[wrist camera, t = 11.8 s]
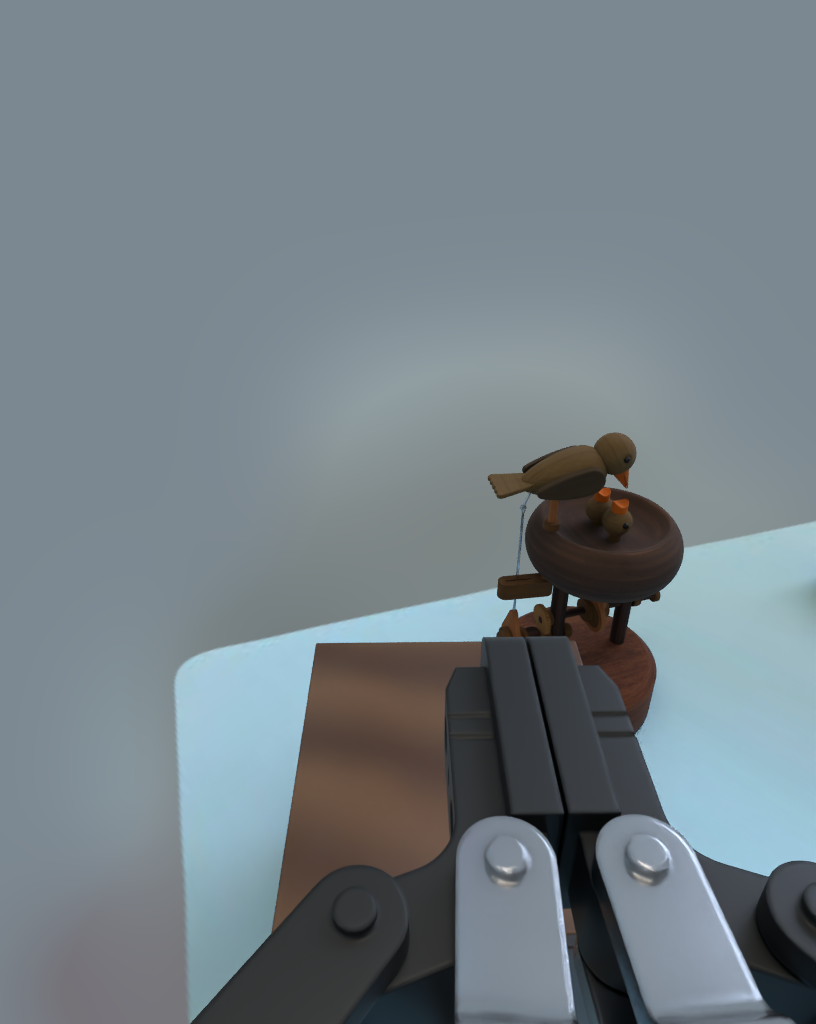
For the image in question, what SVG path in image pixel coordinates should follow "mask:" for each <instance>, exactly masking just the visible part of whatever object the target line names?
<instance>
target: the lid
mask: <svg viewBox="0 0 816 1024" xmlns="http://www.w3.org/2000/svg"><path fill="white" fill-rule="evenodd" d="M570 644H571V647H572V651H573V654H574V657H575V661H576V664H577V665H583V663H582V660H581V657H580V654H579V651H578V648H577V644H576V642H575V641H570ZM481 645H482V642H397V643H317V644H316V648H315V654H314V661H313V667H312V674H311V680H310V687H309V693H308V700H307V706H306V713H305V719H304V726H303V732H302V739H301V745H300V752H299V758H298V765H297V771H296V777H295V784H294V790H293V797H292V803H291V810H290V816H289V823H288V829H287V836H286V842H285V849H284V855H283V862H282V868H281V875H280V881H279V888H278V894H277V901H276V907H275V914H274V920H273V927H272V933H273V932H274V930H275V929H276V928H277V927H278V926H279V925H280V924H281V923H282V922H283V920H284V919H285V918H286V917H287V916H288V915H289V914H290V913H291V912H292V910H293V909H294V908H295V907H296V906H297V905H298V904H299V903H300V902H301V900H302V899H303V898H304V897H305V896H306V895H307V894H308V893H309V892H310V891H311V889H312V888H313V887H314V886H315V885H316V884H317V883H318V882H319V881H320V880H321V879H322V878H323V877H325V876H326V875H328V874H329V873H330V872H332V871H334V870H337V869H339V868H342V867H345V866H350V865H368V866H373V867H376V868H378V869H381V870H383V871H384V872H386V873H388V874H389V875H390V876H391V877H392V878H393V877H395V876H398V875H401V874H404V873H406V872H409V871H412V870H415V869H417V868H419V867H422V866H424V865H426V864H428V863H429V862H431V861H432V860H434V859H435V858H436V857H437V856H438V855H439V854H440V853H441V852H442V851H443V850H444V848H445V847H446V846H447V844H448V842H449V840H450V833H449V818H448V803H447V787H446V772H445V757H444V724H445V689H446V687H447V685H448V682H449V680H450V678H451V676H452V674H453V672H454V670H455V667H480V661H481ZM563 915H564V924H565V932H566V940H567V946H574V944H575V939H576V931H575V926H574V921H573V916H572V911H571V909H563ZM272 933H271V934H272Z"/></svg>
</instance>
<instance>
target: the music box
mask: <svg viewBox="0 0 816 1024" xmlns="http://www.w3.org/2000/svg"><path fill="white" fill-rule="evenodd" d="M635 459H636V447H635V445H634V443H633V442H632V440H631V439H630V438H629V437H627V436H626V435H624V434H621V433H609V434H606V435H604V436H602V437H601V438H600V439H599V440H598V441H597V442H596V444H595V446H594V448H593V447H591V446H586V445H579V446H570V447H566V448H563V449H560V450H557V451H555V452H552V453H549V454H547V455H545V456H542V457H540V458H538V459H536V460H534V461H532V462H530V463H528V464H527V465H525V466H524V467H523V469H522V471H523V473H514V474H491V475H489V476H488V480H489V481H490V484H491V485H492V488H493V489H494V492H495V493H496V494H497V498H500V499H502V498H506V497H509V496H512V495H515V494H518V493H521V492H524V491H526V492H528V495H527V498H526V500H525V502H524V504H523V505H521V506H520V509H521V510H522V518H521V529H520V540H519V550H518V561H517V572H516V573H517V574H516V575H513V576H503V577H500V578H499V579H498V589H497V596H498V597H499V598H500V599H502V600H513V599H514V605H513V610H510V611H509V613H508V615H507V616H506V618H505V620H504V622H503V623H502V627H501V628H500V629H499V632H498V633H497V636H496V637H524V639H525V637H543V636H566V637H567V638H568V639H569V641H575V642H576V644H577V648H578V651H579V654H580V657H581V660H582V663H583V665H599V666H600V667H601V669H602V670H603V671H604V672H605V673H606V674H607V675H608V676H609V677H610V678H611V679H612V681H613V682H614V683H615V684H616V685H617V686H618V688H619V691H620V693H621V696H622V699H623V702H624V705H625V707H626V710H627V716H629V718H630V721H631V724H632V727H633V729H634V733H636V732H637V731H638V730H639V728H640V727H641V726H642V724H643V723H644V721H645V719H646V716H647V713H648V709H649V705H650V701H651V696H652V692H653V688H654V684H655V680H656V664H655V660H654V657H653V655H652V653H651V651H650V649H649V648H648V646H647V645H646V644H645V642H644V641H643V640H642V639H641V638H640V637H639V636H638V635H637V634H636V633H635V632H633V631H632V630H631V629H630V628H628V627H627V624H628V619H629V614H630V609H631V606H638V605H640V604H641V601H643V600H647V599H650V600H651V601H652V602H655V601H658V600H659V599H660V592H659V591H660V590H662V589H663V588H664V587H666V586H667V585H668V584H669V583H670V582H671V581H672V579H673V578H674V577H675V575H676V574H677V572H678V570H679V568H680V566H681V563H682V559H683V553H684V546H683V539H682V535H681V533H680V530H679V528H678V526H677V524H676V523H675V521H674V520H673V518H672V517H671V516H670V515H669V514H668V513H667V512H666V511H665V510H664V509H663V508H662V507H660V506H659V505H658V504H656V503H654V502H653V501H651V500H649V499H647V498H644V497H642V496H640V495H637V494H634V493H631V492H628V491H624V490H620V489H614V488H607V487H604V485H605V482H606V476H607V474H611V475H614V476H615V477H616V478H617V479H618V480H619V481H620V482H621V484H622V485H623V486H624V487H625V488H626V486H627V488H628V475H629V468H631V466H632V465H633V464H634V462H635ZM531 493H532V494H536V495H537V496H538V497H539V498H540V499H545V501H543V502H542V503H541V504H540V505H539V506H538V507H537V508H536V509H535V511H534V512H533V513H532V515H531V517H530V519H529V521H528V524H527V527H526V532H525V544H526V550H527V553H528V556H529V558H530V560H531V562H532V564H533V566H534V567H535V569H536V570H537V571H538V572H539V573H535V574H524V575H518V573H519V562H520V551H521V541H522V530H523V519H524V512H525V509H526V503H527V501H528V498H529V496H530V494H531ZM552 586H553V594H552V602H551V607H548V608H545V607H544V605H542V604H537V605H536V606H535V607H534V609H533V610H534V611H533V612H530V613H528V614H525V615H523V616H521V617H520V618H518V612H517V610H516V609H515V605H516V599H523V598H534V597H544V596H549V595H551V593H552ZM569 594H570V595H573V596H575V597H578V598H580V599H579V600H578V602H577V607H572V606H567V602H568V595H569ZM612 607H615V610H614V616H613V618H612V617H610V616H608V615H609V608H612Z"/></svg>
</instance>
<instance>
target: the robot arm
mask: <svg viewBox="0 0 816 1024" xmlns="http://www.w3.org/2000/svg"><path fill="white" fill-rule="evenodd" d="M444 757H445V772H446V787H447V803H448V818H449V833H450V840H449V842H448V844H447V846H446V847H445V848H444V850H443V851H442V852H441V853H440V854H439V855H438V856H437V857H436V858H435V859H434V860H432V861H431V862H429V863H428V864H426V865H424V866H422V867H419V868H417V869H415V870H412V871H409V872H406V873H404V874H401V875H398V876H395V877H393V878H392V877H391V876H390V875H389V874H388V873H386V872H384V871H383V870H381V869H378V868H376V867H373V866H368V865H350V866H345V867H342V868H339V869H337V870H334V871H332V872H330V873H329V874H328V875H326V876H325V877H323V878H322V879H321V880H320V881H319V882H318V883H317V884H316V885H315V886H314V887H313V888H312V889H311V891H310V892H309V893H308V894H307V895H306V896H305V897H304V898H303V899H302V900H301V902H300V903H299V904H298V905H297V906H296V907H295V908H294V909H293V910H292V912H291V913H290V914H289V915H288V916H287V917H286V918H285V919H284V920H283V922H282V923H281V924H280V925H279V926H278V927H277V928H276V929H275V930H274V932H273V933H272V934H271V935H270V936H269V937H268V938H267V939H266V940H265V942H264V943H263V944H262V945H261V946H260V947H259V948H258V949H257V950H256V951H255V953H254V954H253V955H252V956H251V957H250V958H249V959H248V960H247V961H246V963H245V964H244V965H243V966H242V967H241V968H240V969H239V970H238V971H237V973H236V974H235V975H234V976H233V977H232V978H231V979H230V980H229V981H228V983H227V984H226V985H225V986H224V987H223V988H222V989H221V990H220V991H219V993H218V994H217V995H216V996H215V997H214V998H213V999H212V1000H211V1001H210V1003H209V1004H208V1005H207V1006H206V1007H205V1008H204V1009H203V1010H202V1011H201V1012H200V1014H199V1015H198V1016H197V1017H196V1018H195V1019H194V1020H193V1021H192V1022H191V1024H578V1021H577V1017H576V1012H575V1005H574V997H573V989H572V981H571V973H570V965H569V956H568V948H567V940H566V932H565V924H564V915H563V909H571V911H572V916H573V921H574V926H575V931H576V939H575V944H574V950H573V960H574V965H575V970H576V973H577V977H578V981H579V984H580V988H581V992H582V996H583V999H584V1003H585V1007H586V1011H587V1014H588V1018H589V1022H590V1024H816V863H814V862H809V861H791V862H787V863H784V864H782V865H780V866H778V867H777V868H776V869H775V870H773V871H772V873H771V875H770V876H769V877H767V876H764V875H760V874H757V873H753V872H750V871H746V870H743V869H739V868H736V867H732V866H729V865H726V864H723V863H720V862H717V861H714V860H712V859H710V858H708V857H706V856H704V855H702V854H700V853H699V852H697V851H696V850H694V849H693V848H692V847H691V845H690V844H689V843H688V841H687V840H686V839H685V838H684V837H683V836H682V835H681V834H680V833H679V832H678V831H677V830H675V829H674V828H673V827H671V825H670V824H669V822H668V821H667V819H666V816H665V814H664V812H663V809H662V807H661V804H660V801H659V798H658V795H657V793H656V790H655V787H654V784H653V782H652V779H651V776H650V773H649V771H648V768H647V765H646V762H645V760H644V757H643V754H642V751H641V749H640V746H639V743H638V740H637V738H636V737H635V736H634V729H633V727H632V724H631V721H630V718H629V716H627V710H626V707H625V705H624V702H623V699H622V696H621V693H620V691H619V688H618V686H617V685H616V684H615V683H614V682H613V681H612V679H611V678H610V677H609V676H608V675H607V674H606V673H605V672H604V671H603V670H602V669H601V667H600V666H599V665H577V664H576V661H575V657H574V654H573V651H572V647H571V644H570V641H569V639H568V638H567V637H566V636H543V637H525V639H524V637H483V639H482V645H481V661H480V667H455V670H454V672H453V674H452V676H451V678H450V680H449V682H448V685H447V687H446V689H445V724H444Z"/></svg>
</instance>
